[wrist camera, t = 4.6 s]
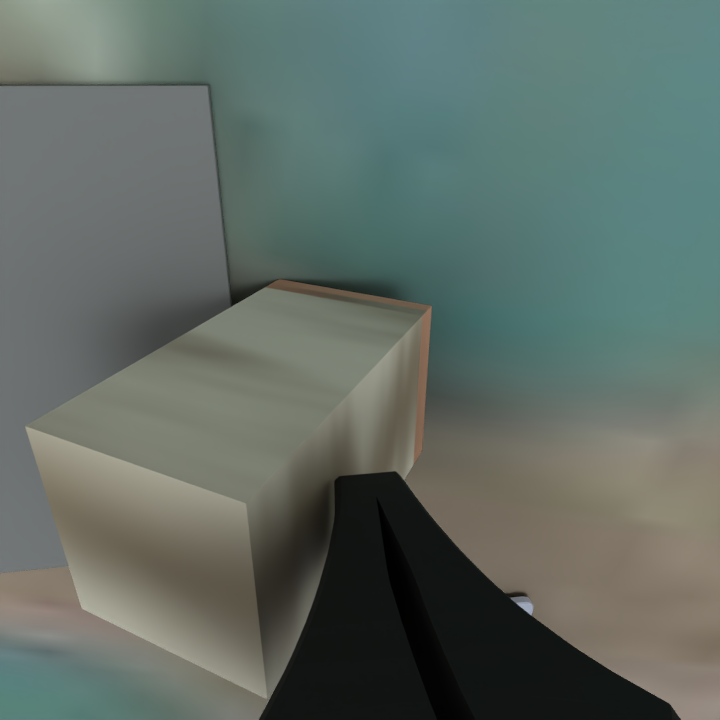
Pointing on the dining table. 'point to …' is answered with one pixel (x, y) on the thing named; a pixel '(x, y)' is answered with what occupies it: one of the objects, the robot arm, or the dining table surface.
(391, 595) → the robot arm
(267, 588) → the block
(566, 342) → the dining table surface
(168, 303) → the mat
